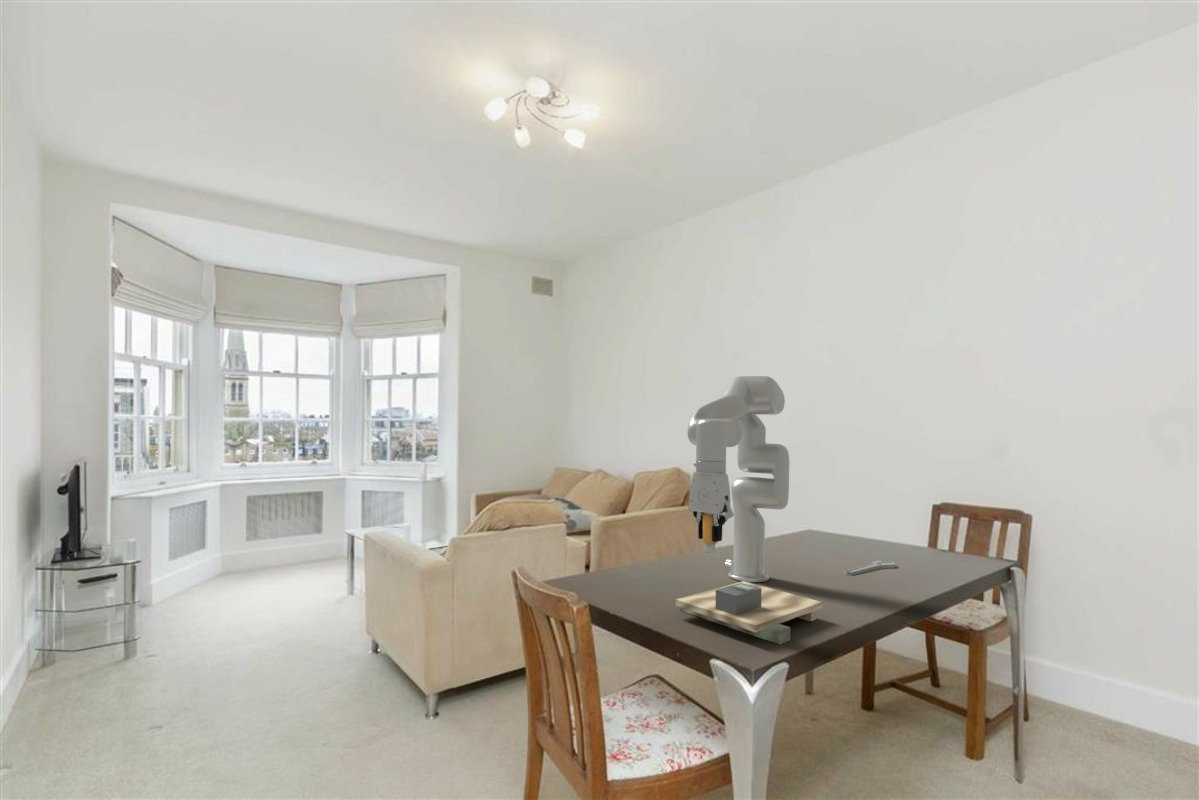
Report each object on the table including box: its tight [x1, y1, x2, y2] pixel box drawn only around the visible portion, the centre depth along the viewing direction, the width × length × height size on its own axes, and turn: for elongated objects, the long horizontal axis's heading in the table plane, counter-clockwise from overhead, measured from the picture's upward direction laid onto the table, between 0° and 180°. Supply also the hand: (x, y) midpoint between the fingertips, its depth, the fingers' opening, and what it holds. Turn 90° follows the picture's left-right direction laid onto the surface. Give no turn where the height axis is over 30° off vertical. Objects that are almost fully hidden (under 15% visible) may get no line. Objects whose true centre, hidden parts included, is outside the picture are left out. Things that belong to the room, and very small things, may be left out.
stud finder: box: [716, 582, 762, 615], centre depth 146 cm, size 6×10×5 cm, turn 130°
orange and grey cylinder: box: [701, 513, 719, 554], centre depth 154 cm, size 4×4×10 cm
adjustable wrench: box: [843, 560, 896, 576], centre depth 205 cm, size 25×6×2 cm, turn 120°
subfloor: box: [675, 581, 823, 646], centre depth 152 cm, size 30×28×4 cm
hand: (710, 539), depth 154 cm, fingers closed on orange and grey cylinder, 3 cm apart
